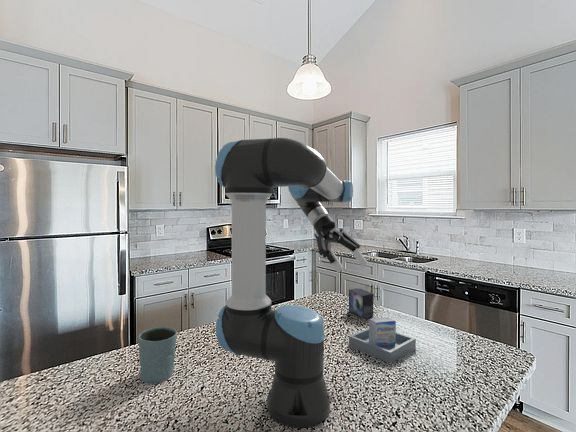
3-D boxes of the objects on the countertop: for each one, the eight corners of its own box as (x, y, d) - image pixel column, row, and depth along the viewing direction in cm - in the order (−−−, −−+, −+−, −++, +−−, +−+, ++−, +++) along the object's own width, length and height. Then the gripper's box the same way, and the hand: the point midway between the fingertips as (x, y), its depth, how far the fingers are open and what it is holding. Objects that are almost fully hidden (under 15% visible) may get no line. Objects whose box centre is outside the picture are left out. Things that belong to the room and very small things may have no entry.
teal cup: (140, 369, 93) (139, 329, 93) (176, 363, 97) (176, 324, 96) (136, 388, 84) (136, 343, 83) (177, 381, 87) (177, 338, 87)
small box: (347, 311, 146) (347, 289, 146) (358, 309, 149) (359, 287, 149) (361, 319, 137) (362, 295, 136) (373, 317, 139) (374, 293, 139)
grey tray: (390, 363, 98) (390, 352, 98) (348, 345, 110) (348, 336, 110) (415, 348, 109) (415, 338, 109) (375, 334, 121) (375, 324, 121)
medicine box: (375, 348, 106) (375, 322, 106) (368, 342, 111) (368, 318, 110) (395, 345, 108) (396, 320, 108) (388, 340, 113) (388, 316, 112)
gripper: (337, 226, 129) (368, 269, 119) (292, 229, 113) (322, 279, 102) (348, 214, 125) (380, 257, 114) (302, 215, 109) (335, 265, 98)
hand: (353, 267), depth 108 cm, fingers open, 13 cm apart
